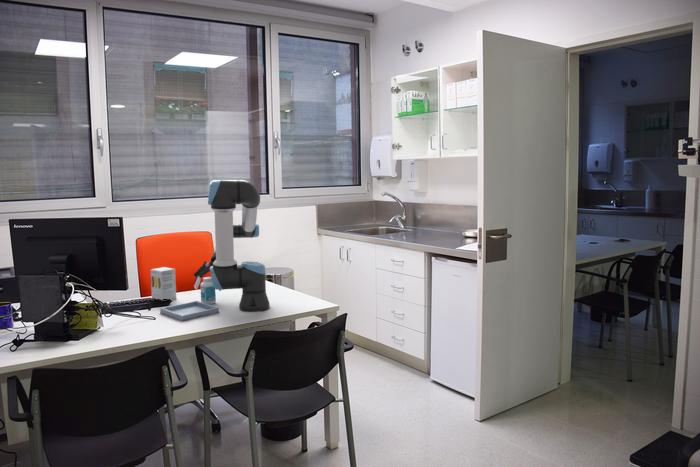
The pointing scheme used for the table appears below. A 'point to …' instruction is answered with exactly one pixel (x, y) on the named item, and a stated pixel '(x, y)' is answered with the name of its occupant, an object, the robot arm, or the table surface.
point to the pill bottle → (207, 291)
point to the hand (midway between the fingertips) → (207, 288)
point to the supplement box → (163, 283)
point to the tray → (189, 310)
